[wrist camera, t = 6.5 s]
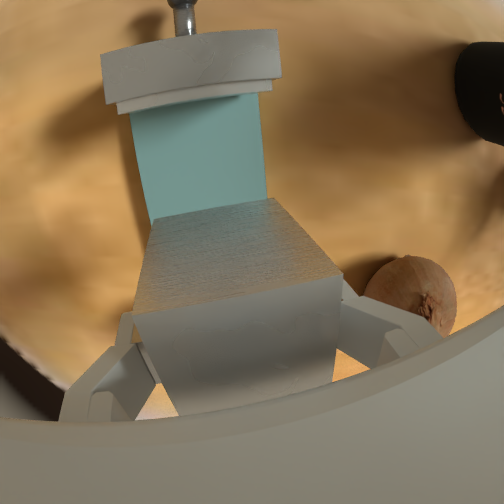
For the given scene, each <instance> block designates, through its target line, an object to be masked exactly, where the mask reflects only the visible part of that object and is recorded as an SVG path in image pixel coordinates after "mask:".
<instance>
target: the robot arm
mask: <svg viewBox="0 0 504 504" xmlns="http://www.w3.org/2000/svg"><path fill="white" fill-rule="evenodd" d="M131 315H132V311H130V312H124V313H123V314H122V315H121V318H120V323H119V327H118V332H117V336H116V341H115V346H111V347H109V348H108V349H107V350H106V351H105V352H104V353H103V354H102V355H101V357H100V358H99V359H98V360H97V361H96V362H95V363H94V364H93V365H92V366H91V367H90V368H89V369H88V370H87V371H86V372H85V373H84V374H83V375H82V376H81V377H80V378H79V379H78V380H77V381H76V382H75V383H74V384H73V385H72V386H71V387H70V388H69V389H68V390H67V391H66V392H65V396H64V400H63V404H62V408H61V413H60V417H59V421H58V422H50V421H34V420H22V419H12V418H4V417H0V504H504V305H503V306H502V307H500V308H498V309H497V310H495V311H493V312H491V313H490V314H488V315H486V316H484V317H483V318H481V319H479V320H477V321H476V322H474V323H472V324H470V325H468V326H466V327H464V328H462V329H461V330H459V331H457V332H455V333H453V334H451V335H449V336H447V337H445V338H443V337H442V336H441V335H440V334H439V333H438V332H437V331H436V330H435V328H434V327H433V326H432V325H431V324H430V323H429V322H428V321H427V320H426V319H425V318H424V317H422V316H419V315H416V314H413V313H410V312H408V311H405V310H402V309H399V308H396V307H393V306H391V305H388V304H385V303H382V302H379V301H376V300H374V299H371V298H368V297H365V296H360V297H359V296H358V295H357V294H356V293H355V291H354V290H353V289H352V288H351V287H350V286H349V284H348V283H347V282H346V281H345V280H344V279H343V288H342V300H341V311H340V321H339V331H338V340H337V349H339V350H341V351H342V352H344V353H346V354H347V355H349V356H350V357H352V358H354V359H355V360H357V361H359V362H360V363H362V364H364V365H365V366H367V367H369V368H370V370H367V371H364V372H362V373H359V374H356V375H353V376H350V377H347V378H344V379H341V380H338V381H335V382H332V383H329V384H325V385H322V386H319V387H315V388H312V389H309V390H305V391H301V392H298V393H294V394H290V395H287V396H283V397H279V398H275V399H270V400H266V401H262V402H257V403H253V404H248V405H243V406H239V407H233V408H228V409H223V410H217V411H211V412H205V413H198V414H192V415H184V416H176V417H168V418H158V419H148V420H135V419H136V417H137V415H138V414H139V412H140V410H141V409H142V407H143V406H144V404H145V402H146V401H147V399H148V397H149V396H150V394H151V392H152V391H153V389H154V388H155V386H156V384H158V383H162V382H161V380H160V378H159V376H158V374H157V372H156V370H155V368H154V366H153V364H152V361H151V359H150V357H149V355H148V353H147V351H146V348H145V346H144V344H143V342H142V339H141V337H140V335H139V333H138V330H137V328H136V325H135V323H134V321H133V318H132V316H131ZM134 420H135V421H134Z"/></svg>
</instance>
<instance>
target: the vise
mask: <svg viewBox="0 0 504 504" xmlns="http://www.w3.org/2000/svg"><path fill="white" fill-rule="evenodd" d="M129 115H130V122H131V128H132V134H133V140H134V146H135V151H136V157H137V162H138V167H139V172H140V177H141V182H142V187H143V191H144V196H145V201H146V205H147V209H148V214H149V218H150V222H151V226H152V224H153V220H154V219H156V218H161V217H166V216H172V215H177V214H182V213H187V212H193V211H198V210H204V209H209V208H215V207H221V206H226V205H232V204H238V203H244V202H251V201H257V200H263V199H267V190H266V178H265V167H264V155H263V144H262V134H261V123H260V113H259V103H258V93H257V94H250V95H239V96H230V97H221V98H213V99H206V100H199V101H193V102H186V103H181V104H175V105H170V106H164V107H159V108H154V109H150V110H145V111H141V112H136V113H130V114H129Z"/></svg>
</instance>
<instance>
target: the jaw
mask: <svg viewBox="0 0 504 504" xmlns="http://www.w3.org/2000/svg"><path fill="white" fill-rule="evenodd" d="M167 2H168V4H169V6H170V7H171V8H173V13H174V25H175V35H176V37H174V38H169V39H163V40H158V41H153V42H148V43H143V44H139V45H135V46H130V47H126V48H122V49H119V50H115V51H111V52H108V53H104V54H101V55H100V57H101V67H102V77H103V85H104V93H105V101H106V105H117V111H118V115H120V114H130V113H136V112H141V111H145V110H150V109H154V108H159V107H164V106H170V105H175V104H181V103H186V102H193V101H199V100H206V99H213V98H221V97H230V96H239V95H250V94H257V93H262V92H268V91H272V80H276V79H279V78H282V72H281V63H280V53H279V44H278V35H277V29H258V30H236V31H222V32H212V33H203V34H197V33H196V23H195V13H194V5H195V4H196V2H197V0H167Z"/></svg>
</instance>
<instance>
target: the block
mask: <svg viewBox="0 0 504 504" xmlns="http://www.w3.org/2000/svg"><path fill="white" fill-rule="evenodd" d="M342 288H343V273H342V272H341V270H340V269H339V268H338V267H337V266H336V265H335V264H334V262H333V261H332V260H331V259H330V258H329V257H328V256H327V255H326V254H325V252H324V251H323V250H322V249H321V248H320V247H319V246H318V245H317V244H316V242H315V241H314V240H313V239H312V238H311V237H310V236H309V235H308V234H307V233H306V231H305V230H304V229H303V228H302V227H301V226H300V225H299V224H298V223H297V222H296V221H295V220H294V219H293V217H292V216H291V215H290V214H289V213H288V212H287V211H286V210H285V209H284V208H283V207H282V206H281V205H280V204H279V203H278V202H277V201H276V199H275V198H270V199H263V200H257V201H251V202H244V203H238V204H232V205H226V206H221V207H215V208H209V209H204V210H198V211H193V212H187V213H182V214H177V215H172V216H166V217H161V218H156V219H154V220H153V224H152V228H151V231H150V235H149V239H148V243H147V247H146V251H145V255H144V259H143V263H142V268H141V272H140V276H139V281H138V286H137V290H136V295H135V300H134V305H133V310H132V315H131V316H132V318H133V321H134V323H135V325H136V328H137V330H138V333H139V335H140V337H141V339H142V342H143V344H144V346H145V348H146V351H147V353H148V355H149V357H150V359H151V361H152V364H153V366H154V368H155V370H156V372H157V374H158V376H159V378H160V380H161V382H162V384H163V386H164V388H165V390H166V392H167V394H168V396H169V398H170V400H171V401H172V403H173V405H174V407H175V409H176V411H177V413H178V414H179V416H184V415H192V414H198V413H205V412H211V411H217V410H223V409H228V408H233V407H239V406H243V405H248V404H253V403H257V402H262V401H266V400H270V399H275V398H279V397H283V396H287V395H290V394H294V393H298V392H301V391H305V390H309V389H312V388H315V387H319V386H322V385H325V384H329V383H332V378H333V371H334V364H335V356H336V348H337V340H338V331H339V321H340V311H341V300H342Z"/></svg>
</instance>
